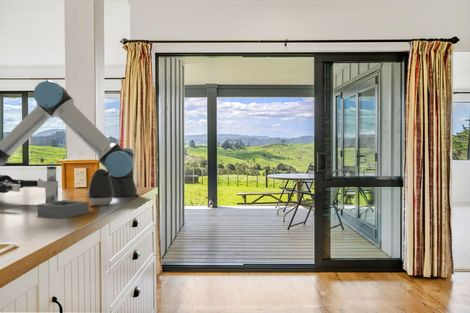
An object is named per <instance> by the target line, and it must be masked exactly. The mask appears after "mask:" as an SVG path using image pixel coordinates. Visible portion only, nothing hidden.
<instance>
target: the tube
mask: <svg viewBox="0 0 470 313" xmlns="http://www.w3.org/2000/svg"><path fill="white" fill-rule="evenodd" d="M44 181H45V188H44V189H45V203H50V202H56V201H59V181H58V180H57V166H52V165H51V166H46V180H44Z"/></svg>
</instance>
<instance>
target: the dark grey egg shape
mask: <svg viewBox="0 0 470 313" xmlns="http://www.w3.org/2000/svg"><path fill="white" fill-rule="evenodd" d="M87 198H88V199H89V203H90V204H91V205H93V206H97V207H103V206H107V205H109V204H111V203H112V201H113V199H114V191H113V186H112V182H111V179H110V176H109V171H107V170H106V169H104V168H99V169H96V170H95V172H93V174H92V177H91V178H90V182H89V186H88V191H87Z"/></svg>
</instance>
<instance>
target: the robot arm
mask: <svg viewBox="0 0 470 313" xmlns="http://www.w3.org/2000/svg"><path fill="white" fill-rule="evenodd" d="M33 98H34V101H35V102H36V107H34V109H33V110H31V112H29V113H28V114H27V115H26V116H25V118H23V119H21V121H20V122H19V123H18V124H17V125H15V127H14V128H12V130H10V132H8V134H7V135H5V137H3V138H2V139H1V140H0V167H1V166H4V165H6V164H7V163H8V161H9V159H10V157H11V156H12V155H14V153H15V152H16V151H17V150H18V149H19V148H21V147H22V146H23V145H24V144H25V143H26V142H27V141H28V140H29V139H30V138H31V137H32V136H33V135H34V134H35V133H36V132H37V131H38V130H39V129H40V128H41V127H42V126H43V125H44V124H45V123H46V122H47V121H48V120H49V119H51V118H59V120H61V121H62V122H63V123H64V124H65V125H66V126H67V127H68V128H69V129H70V130H71V131H72V132H73V133H74V134H75V135H76V136H77V137H78V138H79V139H80V140H82V142H83V143H85V144H86V146H87V147H88V148H90V150H92V151H93V152H94V154H95V155H96V156H97V161H98V162H99V164H101V165H102V166H103V167H104V168H105V170H106V171H109V176H110V179H111V182H112V186H113V191H114V196H113V198H114V197H115V198H116V197H120V198H121V197H132V196H136V195H138V190H137V187H136V183H135V179H134V156H135V154H134V150H133V149H131V148H125V147H121V146H120V144H118V143H117V142H116V143H114V142H112V141H111V140H110V139H109V138H108V137H106V135H105V134H104V133H103V132H102V131H101V130H100V129H99V128H98V127H97V126H96V125H95V124H94V123H93V122H92V121H91V120H90V119H89V118H88V117H87V116H86V115H85V114H84V113H83V112H82V111H81V110H80V109H79V108H78V107H77V106H76V105H75V103H74V102H75V100H74V98H73V97H72V96H71V95H70V94H69V92H68V91H67V90H66V89H65V88H64V87H63V86H61V85H60V84H59V83H58V82H56V81H51V80H43V81H41V82H39V83H37V85H35V88H34V89H33ZM45 181H46V180H43V179H41V178H38V180H37V179H36V180H35V179H34V180H33V179H32V180H31V179H29V180H25V179H13V178H12V177H11V176H9V175H8V174H0V193H1V194H6V193H9V192H17V193H19V192H21V189H23V188H30V187H31V188H36V187H37V188H44V189H45Z"/></svg>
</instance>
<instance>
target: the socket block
mask: <svg viewBox="0 0 470 313" xmlns="http://www.w3.org/2000/svg"><path fill="white" fill-rule="evenodd" d="M89 212H90V201H80V200H68V199H63V200H58V201H56V202H50V203H46V202H44V203H39V204H37V216H38V217H47V218H54V219H55V218H56V219H68V218H71V217H77V216H80V215H81V216H82V215H84V214H89Z"/></svg>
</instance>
